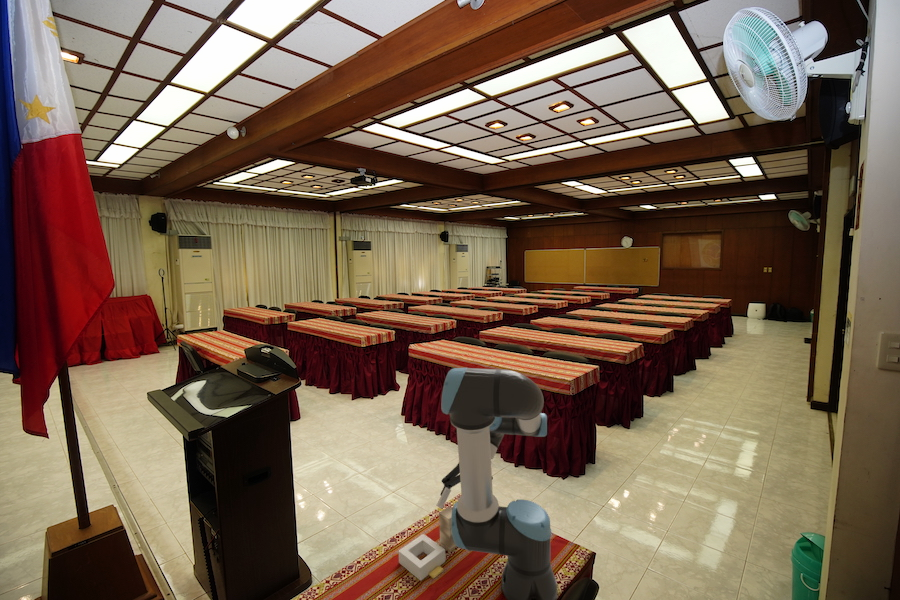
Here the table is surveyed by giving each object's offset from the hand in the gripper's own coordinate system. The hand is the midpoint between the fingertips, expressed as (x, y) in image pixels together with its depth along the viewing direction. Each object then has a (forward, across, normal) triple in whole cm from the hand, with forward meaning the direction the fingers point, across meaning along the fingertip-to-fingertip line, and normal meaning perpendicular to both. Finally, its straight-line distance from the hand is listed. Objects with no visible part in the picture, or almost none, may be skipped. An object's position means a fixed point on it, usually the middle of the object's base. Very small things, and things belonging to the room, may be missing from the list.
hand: (453, 516), depth 130 cm
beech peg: (+8, -1, -4) cm, 8 cm away
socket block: (+15, -1, +4) cm, 16 cm away
